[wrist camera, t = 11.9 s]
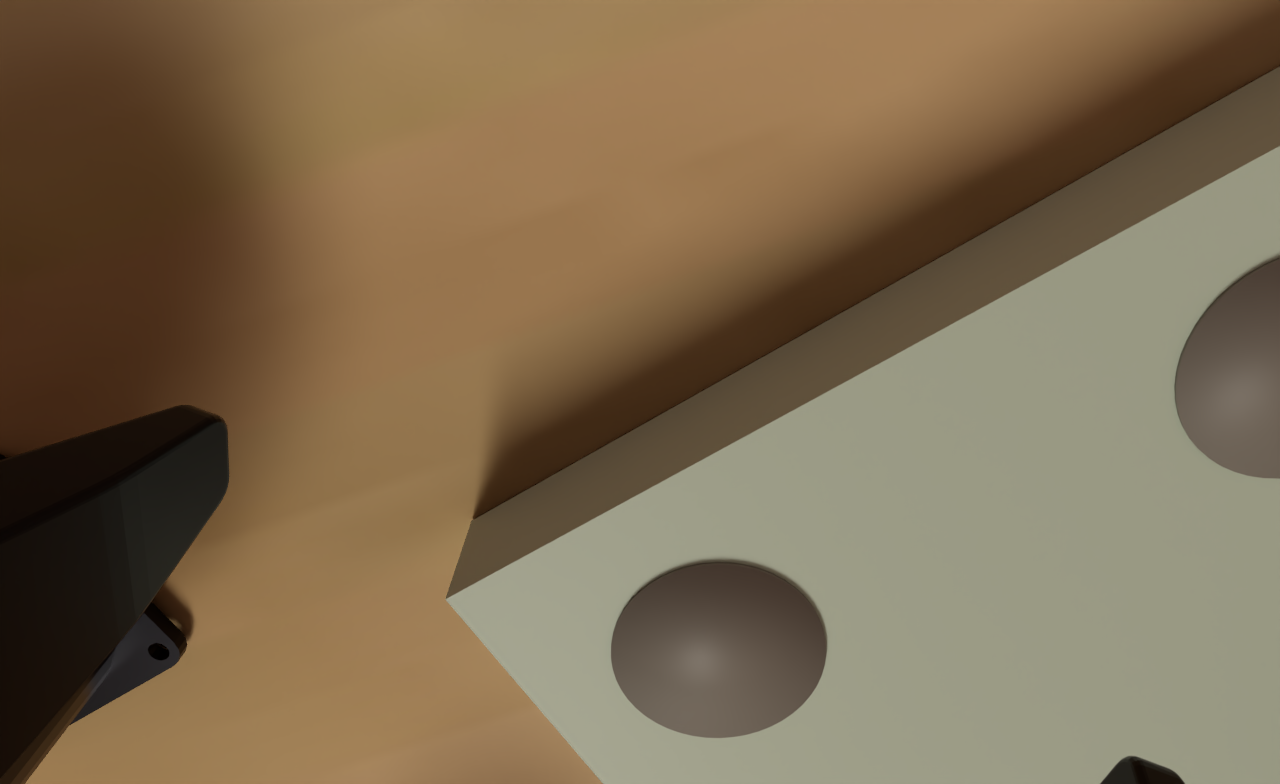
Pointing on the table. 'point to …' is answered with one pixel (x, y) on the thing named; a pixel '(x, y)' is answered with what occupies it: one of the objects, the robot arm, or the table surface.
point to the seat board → (946, 514)
